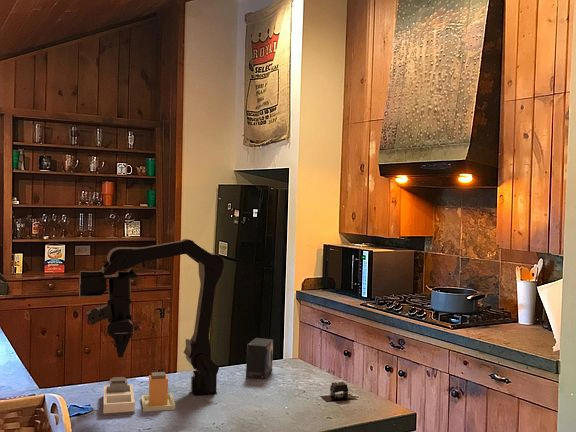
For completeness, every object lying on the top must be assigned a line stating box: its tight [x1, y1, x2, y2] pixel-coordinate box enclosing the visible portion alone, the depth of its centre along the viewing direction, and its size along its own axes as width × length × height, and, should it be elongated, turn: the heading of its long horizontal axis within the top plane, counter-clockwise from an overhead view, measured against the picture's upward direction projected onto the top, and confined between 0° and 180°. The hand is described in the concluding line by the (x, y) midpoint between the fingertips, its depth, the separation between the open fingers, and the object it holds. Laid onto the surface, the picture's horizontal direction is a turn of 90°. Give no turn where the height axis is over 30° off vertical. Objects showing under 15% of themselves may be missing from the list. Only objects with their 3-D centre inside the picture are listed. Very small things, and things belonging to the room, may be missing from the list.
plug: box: [148, 371, 169, 406], centre depth 160 cm, size 4×4×8 cm
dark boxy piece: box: [319, 381, 358, 403], centre depth 171 cm, size 12×7×5 cm, turn 108°
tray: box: [140, 393, 177, 413], centre depth 160 cm, size 8×10×2 cm
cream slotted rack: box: [102, 376, 136, 417], centre depth 159 cm, size 8×16×6 cm, turn 17°
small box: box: [245, 337, 274, 380], centre depth 193 cm, size 11×6×10 cm, turn 168°
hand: (120, 353), depth 163 cm, fingers open, 9 cm apart
